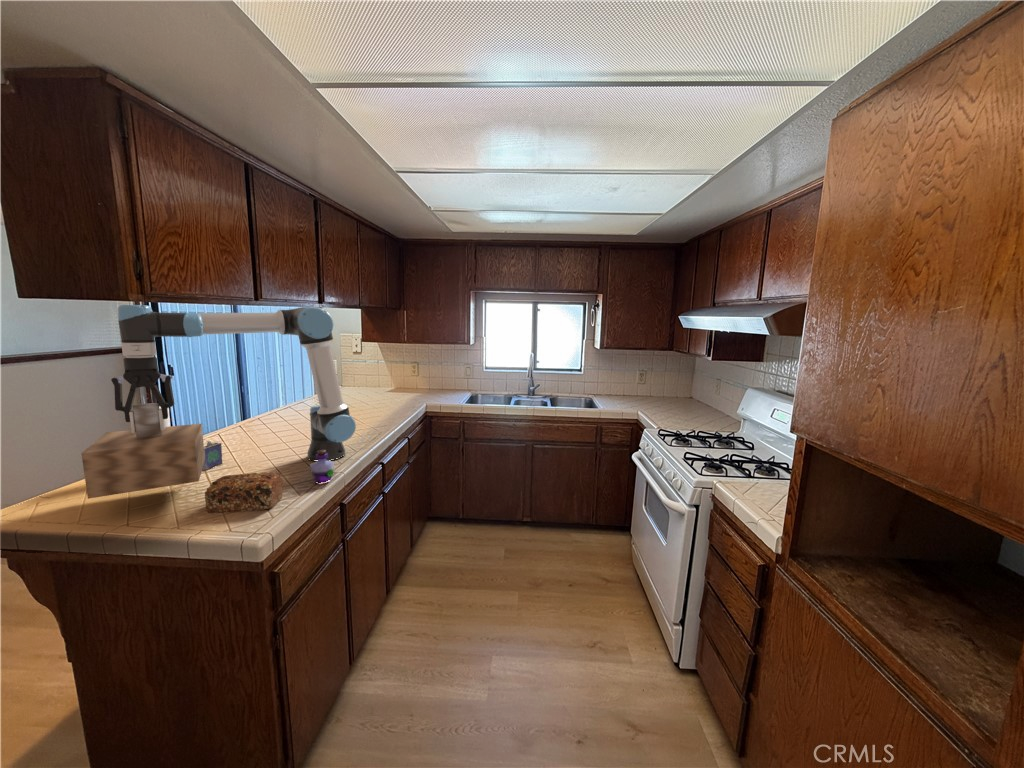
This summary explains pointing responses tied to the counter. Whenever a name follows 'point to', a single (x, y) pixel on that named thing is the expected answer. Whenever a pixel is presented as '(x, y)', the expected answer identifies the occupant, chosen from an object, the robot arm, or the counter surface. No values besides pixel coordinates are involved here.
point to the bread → (244, 492)
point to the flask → (212, 455)
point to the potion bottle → (322, 467)
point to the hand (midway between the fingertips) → (148, 430)
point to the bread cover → (144, 456)
